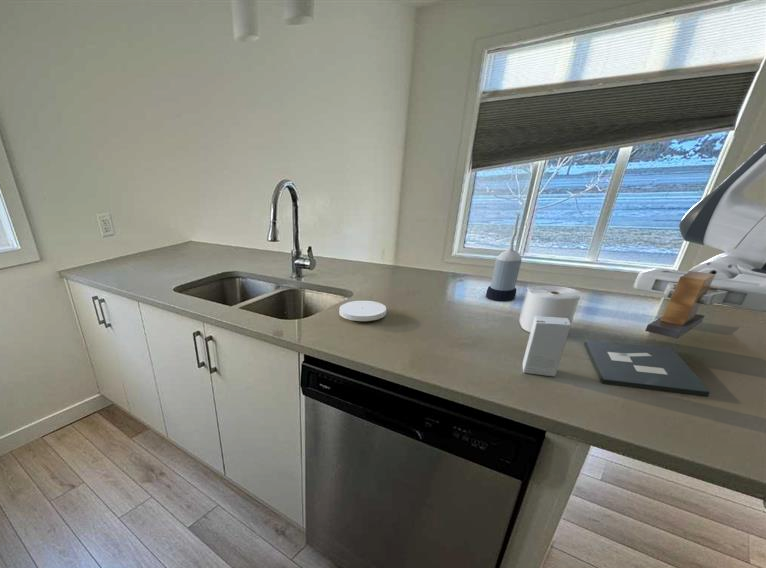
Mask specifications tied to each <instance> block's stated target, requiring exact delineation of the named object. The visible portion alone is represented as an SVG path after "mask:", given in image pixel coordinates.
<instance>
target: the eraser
mask: <svg viewBox="0 0 766 568" xmlns="http://www.w3.org/2000/svg"><path fill="white" fill-rule="evenodd" d="M687 272H688V271H687ZM714 277H715V274H708V273H701V272H694V271H690V272H688V273H687V274H685V275H683V276H681V277H680V279H679V281H678V283H677V285H676V288H675V290H674V292H673V294H672V296H671V298H669V301H668V303H667V306H666V307H665V310H664V312H663V314H662V315H661V316H659V317H658V318H656V319H655V320H652V321H651V322H649V323H648V324H647V325H646V328H645V332H647V333H653V334H657V335H661V336H665V337H668V338H673V339H679V338H680V337H682V336H683V335H685V334H687V333H688V332H690V331H691V330H693V329H694V328H696V327H697V326H698V325H700V324H702V322H703V321H704V319H705V315H702V314H698V310H699V308H700V306H701V305H702V304H700V303H697V301H698V300H699V297H700V296H701V294H703V293H704V292H705V293H707V291H708V289H709V287H710V285H711V283H712V281H713V279H714Z"/></svg>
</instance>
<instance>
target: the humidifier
mask: <svg viewBox="0 0 766 568" xmlns="http://www.w3.org/2000/svg"><path fill="white" fill-rule="evenodd" d="M520 215H521V213H516V216H515V221H514V226H513V233H512V235H511V238H510V241H509V247H508V249H507V250H504V251H503V252H501V253H499V255H497V257H496V259H495V263H494V268H493V271H492V276H491V281H490V285H488V287H487V289H486V292H485V297H486V299H488V300H490V301H493V302H503V303H504V302H511V301H514V300H515V299H516V295H517V288H516V284H517V281H518V277H519V272H520V268H521V265H522V256H521V254H520V253H519V252H518V251H517V250H518V248H519V244H520V240H521V238H522V235H523V233H522V232H520V233H521V234H520V236H519V239H518V243H517V247H516V249H514V245H515V244H514V243H515V238H516V236H517V234H518V225H519V220H520ZM525 217H526V216H524V218H523V221H522V226H521V227H520V230H522V229H523V226H524V222H525Z"/></svg>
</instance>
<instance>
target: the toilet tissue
mask: <svg viewBox="0 0 766 568" xmlns="http://www.w3.org/2000/svg"><path fill="white" fill-rule="evenodd" d="M529 287H530V284H528V285H527V287H526V292H525V296H524V300H523V303H522V308H521V312H520V315H519V325H520V328H521V329H522V330H524V331H526V332H528V333H529V334H530V333H531V329H532V324H533V321H534V317H535V316H541V317H556V318H568V319H569V322H570V324H571V325H572V323H573V320H574V316H575V313H576V311H577V308H578V305H579V301H580V299H581V295H582V294H581V292H580V291H578V290H577V289H574V288H570V287H567V286H559V285H558V286H557V285H539V286H534V287H531V288H529Z"/></svg>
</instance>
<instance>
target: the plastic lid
mask: <svg viewBox="0 0 766 568" xmlns="http://www.w3.org/2000/svg"><path fill="white" fill-rule="evenodd" d="M338 314H339V316H340V317H342V318H344V319H346V320H349V321H355V322H370V321H376V320H380V319H382V318H384V317H385V316H386V315H387V306H386V305H385V304H383V303H381V302H378V301H373V300H354V301H353V300H352V301H347V302H345V303H343V304H341V305H340V306H339V311H338Z"/></svg>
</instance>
